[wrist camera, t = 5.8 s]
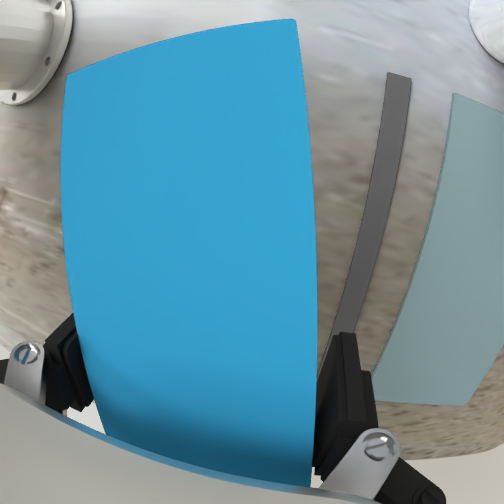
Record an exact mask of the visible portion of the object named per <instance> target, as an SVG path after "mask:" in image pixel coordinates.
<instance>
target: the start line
mask: <svg viewBox="0 0 504 504" xmlns="http://www.w3.org/2000/svg"><path fill="white" fill-rule="evenodd" d="M410 88H411V78H407V77H404V76H400V75H397V74H393V73H389V72H388V73H387V80H386V89H385V97H384V104H383V111H382V118H381V125H380V131H379V137H378V143H377V149H376V154H375V160H374V165H373V171H372V176H371V181H370V186H369V191H368V195H367V200H366V205H365V209H364V214H363V218H362V223H361V227H360V231H359V235H358V239H357V243H356V247H355V251H354V255H353V259H352V263H351V267H350V270H349V274H348V278H347V281H346V285H345V289H344V292H343V296H342V299H341V302H340V306H339V309H338V313H337V316H336V319H335V322H334V326H333V329H332V332H331V335H330V338H329V341H328V344H327V347H326V350H325V353H324V356H323V359H322V362H321V365H320V368H319V371H318V374H317V378H316V383H317V380H318V377H319V375H320V372H321V369H322V366H323V363H324V361H325V358H326V355H327V352H328V349H329V346H330V343H331V340H332V337H333V335H338V334H339V332H348V333H353V330H354V327H355V324H356V322H357V319H358V316H359V313H360V310H361V307H362V304H363V301H364V297H365V294H366V291H367V288H368V285H369V281H370V278H371V275H372V271H373V268H374V265H375V261H376V258H377V254H378V250H379V247H380V243H381V239H382V236H383V232H384V228H385V224H386V220H387V216H388V212H389V207H390V203H391V199H392V194H393V190H394V185H395V180H396V175H397V170H398V165H399V160H400V155H401V149H402V143H403V138H404V131H405V125H406V119H407V112H408V104H409V97H410Z"/></svg>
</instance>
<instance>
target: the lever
mask: <svg viewBox="0 0 504 504" xmlns="http://www.w3.org/2000/svg"><path fill="white" fill-rule="evenodd" d="M61 210H62V226H63V239H64V250H65V259H66V268H67V275H68V283H69V289H70V296H71V302H72V308H73V313H74V319H75V324H76V329H77V334H78V338H79V343H80V347H81V352H82V356H83V360H84V364H85V368H86V372H87V376H88V379H89V383H90V386H91V390H92V393H93V397H94V400H95V403H96V406H97V409H98V413H99V416H100V419H101V422H102V425H103V427H104V430H105V433H106V435H108V436H110V437H113V438H115V439H118V440H120V441H123V442H125V443H128V444H130V445H133V446H136V447H138V448H141V449H144V450H147V451H150V452H153V453H155V454H158V455H162V456H165V457H168V458H171V459H174V460H178V461H181V462H184V463H188V464H191V465H195V466H199V467H202V468H206V469H210V470H214V471H218V472H223V473H227V474H232V475H237V476H241V477H246V478H252V479H257V480H263V481H269V482H275V483H281V484H288V485H295V486H303V487H310V484H311V472H312V459H313V444H314V427H315V406H316V378H317V262H316V233H315V211H314V192H313V176H312V162H311V149H310V137H309V126H308V115H307V105H306V95H305V86H304V78H303V69H302V61H301V53H300V46H299V38H298V31H297V25H296V20H293V19H282V20H272V21H262V22H254V23H247V24H240V25H233V26H227V27H222V28H216V29H211V30H206V31H201V32H196V33H192V34H187V35H183V36H179V37H175V38H171V39H167V40H164V41H160V42H156V43H153V44H150V45H146V46H143V47H140V48H136V49H133V50H130V51H127V52H124V53H121V54H118V55H116V56H113V57H110V58H107V59H105V60H102V61H99V62H97V63H94V64H92V65H89V66H87V67H84V68H82V69H80V70H77V71H75V72H73V73H70V74H69V75H68V76H67V79H66V87H65V96H64V106H63V118H62V135H61Z"/></svg>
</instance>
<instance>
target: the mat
mask: <svg viewBox="0 0 504 504" xmlns="http://www.w3.org/2000/svg"><path fill="white" fill-rule="evenodd" d="M503 345H504V113H501V112H499V111H497V110H495V109H493V108H490V107H488V106H486V105H484V104H481V103H479V102H477V101H474V100H472V99H469V98H467V97H464V96H462V95H459V94H456V93H453V97H452V105H451V113H450V121H449V127H448V134H447V140H446V146H445V152H444V157H443V162H442V167H441V172H440V177H439V182H438V186H437V190H436V195H435V199H434V203H433V207H432V211H431V215H430V219H429V222H428V226H427V230H426V233H425V237H424V240H423V243H422V247H421V250H420V253H419V256H418V260H417V263H416V266H415V269H414V272H413V275H412V278H411V281H410V284H409V286H408V289H407V292H406V295H405V298H404V300H403V303H402V306H401V308H400V311H399V313H398V316H397V319H396V321H395V324H394V326H393V329H392V331H391V333H390V336H389V338H388V341H387V343H386V345H385V347H384V350H383V352H382V354H381V357H380V359H379V361H378V363H377V365H376V367H375V370H374V372H373V374H372V376H371V378H372V384H373V391H374V398H375V400H376V401H386V402H397V403H410V404H426V405H452V406H465V405H466V404H467V402H468V401H469V399H470V398H471V397H472V395H473V394H474V392H475V391H476V389H477V388H478V386H479V385H480V383H481V382H482V380H483V378H484V377H485V375H486V374H487V372H488V370H489V369H490V367H491V366H492V364H493V362H494V361H495V359H496V357H497V355H498V354H499V352H500V350H501V348H502V347H503Z"/></svg>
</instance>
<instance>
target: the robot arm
mask: <svg viewBox="0 0 504 504" xmlns="http://www.w3.org/2000/svg"><path fill="white" fill-rule="evenodd" d="M71 26H72V5H71V0H0V101H1V102H2V103H5V104H7V105H17V104H23V103H26V102H28V101H30V100H31V99H33V98H34V97H36V96H37V95H38V94H39V93H40V92H41V91H42V90H43V89H44V87H45V86H46V85H47V83H48V82H49V81H50V80H51V78H52V76H53V75H54V73H55V71H56V70H57V68H58V66H59V64H60V62H61V59H62V57H63V55H64V52H65V50H66V47H67V44H68V40H69V36H70V33H71ZM45 342H46V343H45V344H44V345H43V346H42V345H41V344H40V343H38V342H35V341H26V342H22V343H20V344H18V345H17V346H15V347H14V349H13V350H12V352H11V354H10V358H9V359H4V360H0V504H446V497H445V495H444V493H443V491H442V490H441V489H440V488H439V487H437V486H436V485H435V484H434V483H432V482H431V481H430V480H428V479H427V478H426V477H424V476H423V475H422V474H420V473H419V472H418V471H417V470H415V469H414V468H413V467H411V466H410V465H409V464H408V463H406V462H405V461H404V460H403V459H401V458H400V457H399V455H400V452H401V445H400V443H399V441H398V439H397V438H396V437H395V435H393V434H392V433H391V432H389V431H387V430H384V429H379V428H378V420H377V412H376V405H375V398H374V391H373V384H372V378H371V374H370V372H369V371H363V370H361V367H360V360H359V353H358V346H357V339H356V334H354V333H348V332H339V334H338V335H333V337H332V340H331V343H330V346H329V349H328V352H327V355H326V358H325V361H324V363H323V366H322V369H321V372H320V375H319V377H318V380H317V383H316V406H315V427H314V444H313V459H312V467H315V474H314V475H321V480H322V481H323V483H322V484H321V486H320V487H319V488H311V487H303V486H295V485H288V484H281V483H275V482H269V481H263V480H257V479H252V478H246V477H241V476H237V475H232V474H227V473H223V472H218V471H214V470H210V469H206V468H202V467H199V466H195V465H191V464H188V463H184V462H181V461H178V460H174V459H171V458H168V457H165V456H162V455H158V454H155V453H153V452H150V451H147V450H144V449H141V448H138V447H136V446H133V445H130V444H128V443H125V442H123V441H120V440H118V439H115V438H113V437H110V436H108V435H105V434H103V433H101V432H98V431H96V430H94V429H91V428H89V427H87V426H85V425H83V424H81V423H79V422H77V421H74V420H72V419H70V418H68V417H67V409H68V408H69V407H71V408H73V409H75V410H78V411H80V412H82V410H83V409H84V407H85V406H86V407H87V406H89V405H90V404H91V402H92V401H93V400H94V397H93V393H92V390H91V386H90V383H89V379H88V376H87V372H86V368H85V364H84V360H83V356H82V352H81V347H80V343H79V338H78V334H77V329H76V324H75V319H74V313H72V314H71V315H70V316H69V317H68V318H67V319H66V320H65V321H64V322H63V323H62V324H61V325H60V326H59V327H58V328H57V329H56V330H55V331H54V332H53V333H52V334H51V335H50V336H49V337H48V338H47V339H46V340H45Z"/></svg>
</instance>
